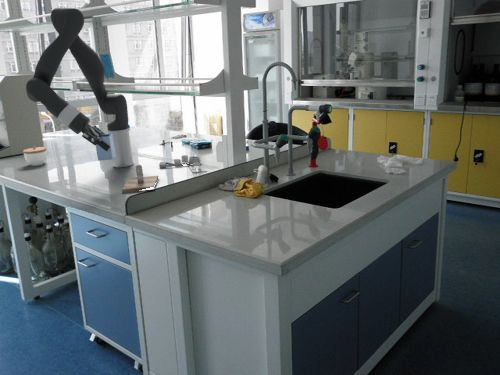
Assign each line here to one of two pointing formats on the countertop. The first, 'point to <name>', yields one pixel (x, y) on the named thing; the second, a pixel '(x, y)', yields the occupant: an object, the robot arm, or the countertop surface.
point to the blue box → (111, 151)
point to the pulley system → (177, 162)
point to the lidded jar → (35, 155)
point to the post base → (139, 186)
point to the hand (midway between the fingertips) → (110, 147)
